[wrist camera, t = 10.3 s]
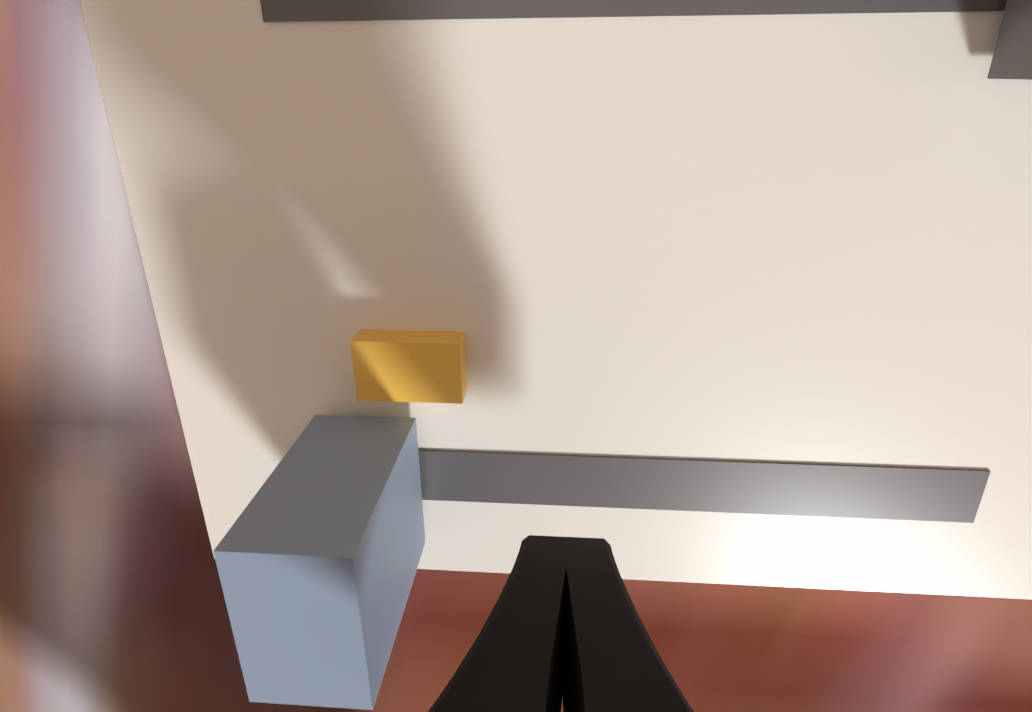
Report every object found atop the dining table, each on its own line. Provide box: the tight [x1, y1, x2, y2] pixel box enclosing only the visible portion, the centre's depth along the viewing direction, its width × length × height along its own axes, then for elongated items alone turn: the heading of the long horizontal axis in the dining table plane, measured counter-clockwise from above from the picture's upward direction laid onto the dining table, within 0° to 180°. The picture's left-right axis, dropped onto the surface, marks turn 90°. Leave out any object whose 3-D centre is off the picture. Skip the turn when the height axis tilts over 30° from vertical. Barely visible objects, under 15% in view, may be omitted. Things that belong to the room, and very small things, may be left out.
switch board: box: [80, 0, 1032, 599], centre depth 12 cm, size 15×21×3 cm
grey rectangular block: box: [213, 415, 425, 710], centre depth 12 cm, size 3×2×4 cm, turn 1°
